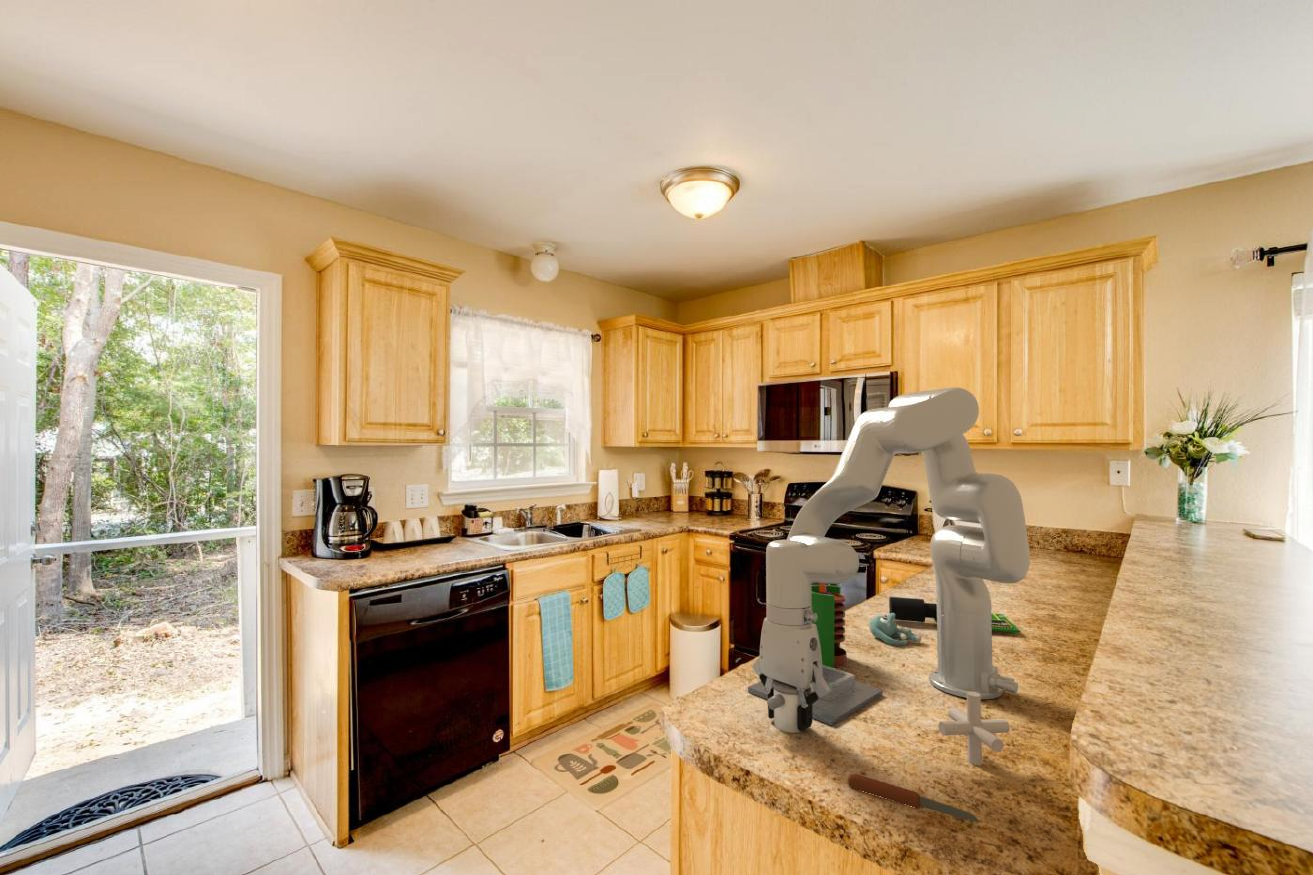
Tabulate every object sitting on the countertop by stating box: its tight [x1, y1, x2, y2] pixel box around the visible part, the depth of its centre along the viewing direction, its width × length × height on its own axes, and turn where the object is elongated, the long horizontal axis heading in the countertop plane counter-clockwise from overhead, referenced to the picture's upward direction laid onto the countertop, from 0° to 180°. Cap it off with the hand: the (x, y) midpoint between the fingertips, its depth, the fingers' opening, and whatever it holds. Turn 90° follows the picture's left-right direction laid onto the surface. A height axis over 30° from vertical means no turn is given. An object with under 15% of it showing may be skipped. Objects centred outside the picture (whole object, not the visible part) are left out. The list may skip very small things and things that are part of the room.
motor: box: [811, 583, 847, 669], centre depth 123 cm, size 10×9×20 cm
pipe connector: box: [938, 691, 1011, 766], centre depth 82 cm, size 10×10×10 cm
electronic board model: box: [888, 596, 1021, 633], centre depth 151 cm, size 30×7×15 cm
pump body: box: [766, 680, 806, 734], centre depth 93 cm, size 5×8×7 cm
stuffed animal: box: [869, 613, 923, 647], centre depth 137 cm, size 11×7×12 cm
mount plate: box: [747, 665, 883, 727], centre depth 106 cm, size 18×18×3 cm
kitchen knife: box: [847, 773, 981, 823], centre depth 72 cm, size 16×1×2 cm, turn 57°
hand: (789, 720), depth 93 cm, fingers closed on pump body, 5 cm apart
